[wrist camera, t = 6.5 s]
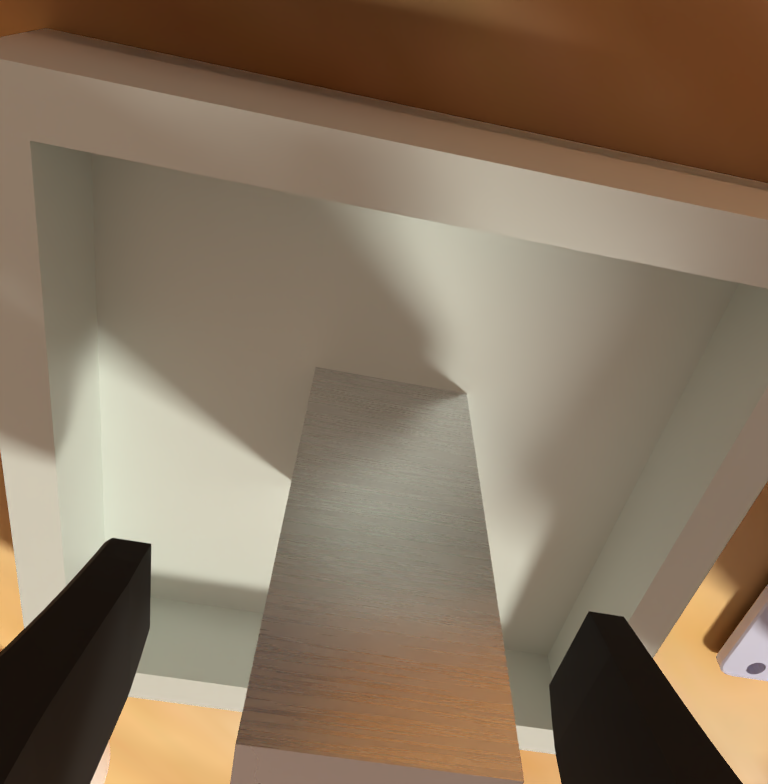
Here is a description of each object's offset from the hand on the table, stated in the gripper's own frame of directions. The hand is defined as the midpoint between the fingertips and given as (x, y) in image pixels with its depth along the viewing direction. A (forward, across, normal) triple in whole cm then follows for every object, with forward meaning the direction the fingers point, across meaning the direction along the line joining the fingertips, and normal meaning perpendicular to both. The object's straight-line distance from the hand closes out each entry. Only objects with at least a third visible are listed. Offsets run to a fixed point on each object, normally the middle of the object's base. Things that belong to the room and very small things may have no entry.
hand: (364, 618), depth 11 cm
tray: (+5, 0, 0) cm, 5 cm away
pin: (+5, 0, 0) cm, 5 cm away
